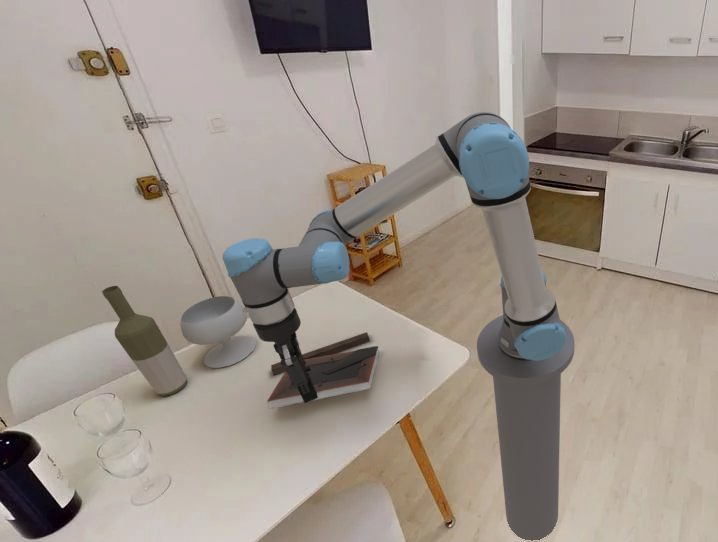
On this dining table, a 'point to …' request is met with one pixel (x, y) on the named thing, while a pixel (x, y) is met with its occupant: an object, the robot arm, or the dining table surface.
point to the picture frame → (330, 376)
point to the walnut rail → (328, 350)
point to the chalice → (218, 330)
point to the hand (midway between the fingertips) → (310, 398)
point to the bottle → (146, 346)
